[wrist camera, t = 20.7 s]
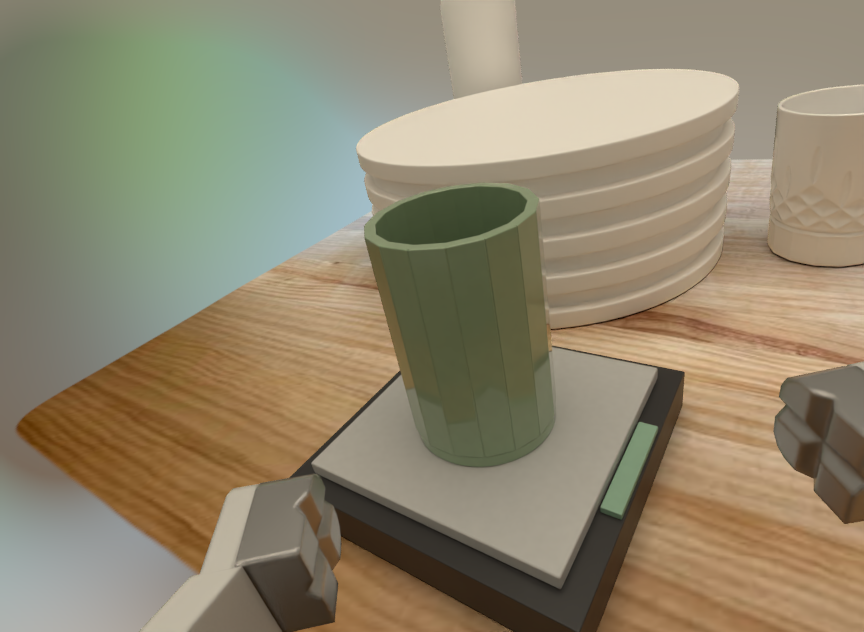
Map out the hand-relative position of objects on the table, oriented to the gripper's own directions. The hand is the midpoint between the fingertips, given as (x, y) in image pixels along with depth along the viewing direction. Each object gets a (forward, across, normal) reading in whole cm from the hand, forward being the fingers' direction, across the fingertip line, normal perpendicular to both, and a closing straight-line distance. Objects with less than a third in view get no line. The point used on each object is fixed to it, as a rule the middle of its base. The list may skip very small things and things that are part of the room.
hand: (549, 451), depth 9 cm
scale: (+12, 0, +12) cm, 17 cm away
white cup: (+26, -26, +13) cm, 39 cm away
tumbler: (+12, 0, +10) cm, 15 cm away
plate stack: (+36, -8, +13) cm, 39 cm away
